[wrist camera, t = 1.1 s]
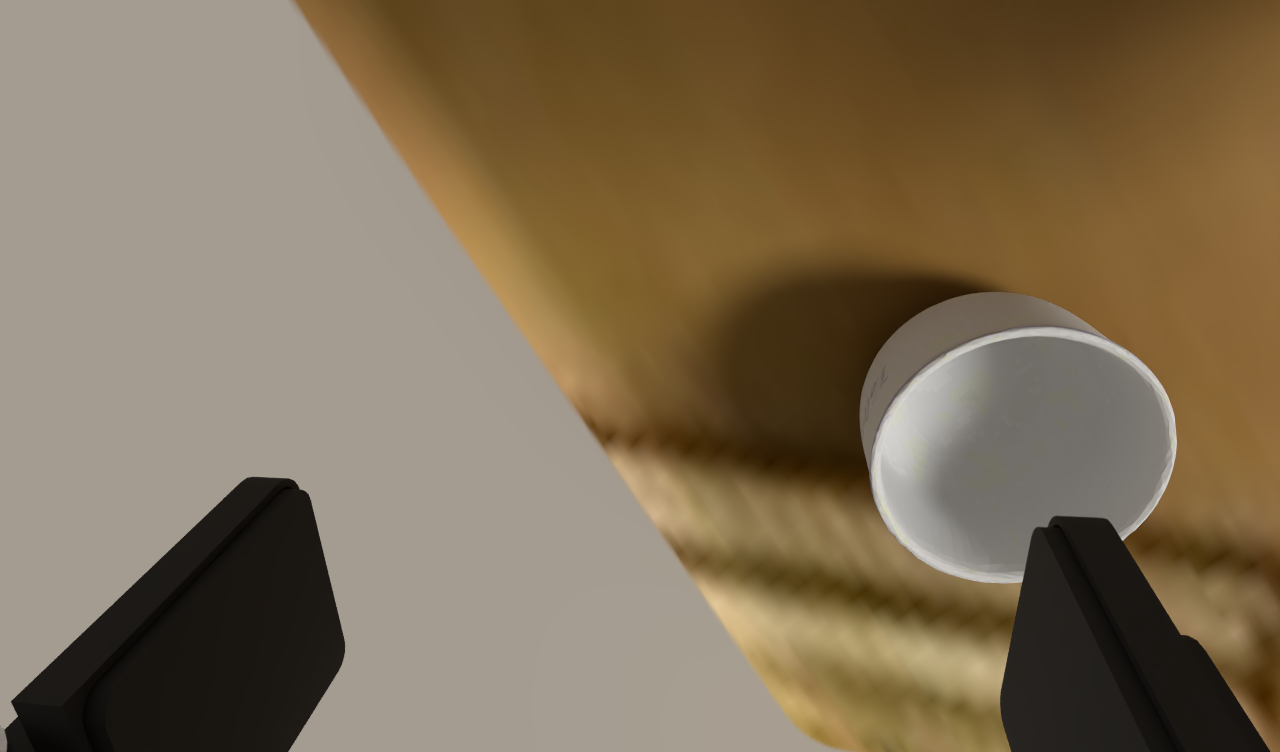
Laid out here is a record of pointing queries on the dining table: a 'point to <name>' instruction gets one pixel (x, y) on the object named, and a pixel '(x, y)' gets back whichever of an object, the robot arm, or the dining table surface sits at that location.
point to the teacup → (1008, 431)
